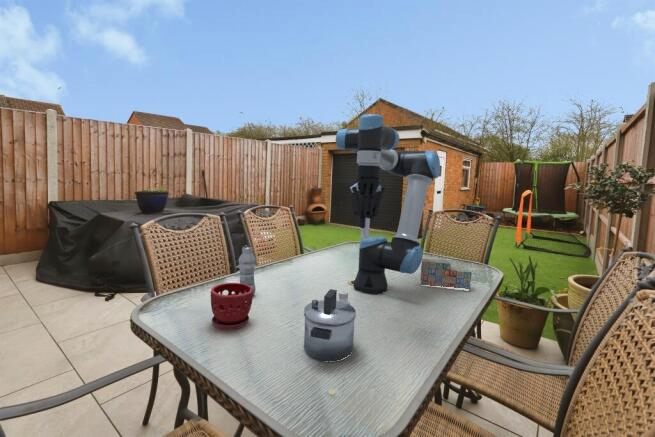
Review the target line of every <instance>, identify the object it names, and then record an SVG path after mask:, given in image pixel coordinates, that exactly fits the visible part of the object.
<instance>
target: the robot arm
mask: <svg viewBox="0 0 655 437" xmlns="http://www.w3.org/2000/svg"><path fill="white" fill-rule="evenodd" d="M384 124H385V122H384V117H383V116H382V115H381V114H374V113H373V114H372V113H369V114H368V113H366V114H362V115H361V116H360V117H359V122H358V127H353V128H352V127H351V128H343V129H339V130H338V131H337V133H336V135H335V145H336V147H337V149H339V150H342V151H352V152H353V153H356V154H357V155H356V163H357V164H358V165H357V166H356V174H355V175H356V180H355V184H353V185H352V186H349V187H348V190H349V192H350V194H351V199H352V200H351V201H352V206H353V212H354V216H356V217H358V218H359V222H358V223H359V225H358V226H359V228H360V236H359V237H360V238H361V239H360V242H359V248H358V250H359V252H358V267H357V268H358V269H357V270H358V271H357V274H356V276H355V279H354V281H353V289H354V290H356V291H357V292H360V293H363V294H367V293H368V294H369V295H379V294H378V293H381V294H384V293H383V292H385V293H387V292H386V291H388V288H389V283H388V281H387V276H386V273H385V271H386V270H388V271H389V270H390V271H394V272H399V273H402V274H409V275H412V274H415V272H417V271H418V269H419V268H420V267H421V264H422V258H424V257H423V256H424V255H423V253H424V250H423V247H422V246H421V243H420V241H419V240H418V236H419V232H420V231H419V230H420V227H421V223H422V222H421V221H422V218H423V214H424V208H425V203H426V198H427V193H428V189H429V186H430V185H432V184H433V183H434V179H438V178H439V176H440V174H441V161H440V156H439V154H438V152H437V151H435V150H394V149H395V148H397V146H398V145H399V142H400V134H399V132H398V131H397V130H396V129H394V128H393V127H390V126H386V125H384ZM381 170H383V171H385V172H387V173H389V174H392V175H394V176H398V177H401V178H402V177H403V178H404V177H405V180H406V181H407V186H406V192H405V195H404V200H403V205H402V209H401V213H400V216H399V217H400V218H399V223H398V226H397V232H396V234H395V235H394V236H391V240H390V241H388V238H387V237H385V236H370V228H372V222H373V221H372V219H374V218H375V217H377V216H378V213H379V209H380V205H381V200H382V197H383V194H384V193H385V191H386V188H385V187H382V186H381V184H380V180H379V178H380V177H381Z"/></svg>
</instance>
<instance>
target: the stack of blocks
mask: <svg viewBox="0 0 655 437" xmlns="http://www.w3.org/2000/svg"><path fill="white" fill-rule="evenodd" d="M451 263H452V262H450V260H449V259H435V258H426V257H425V258H424V257H422V261H421V264H420V280H419V281H421V284H420V286H421V285H430V286H441V287H442V286H443V287H454V288H465V289H470V290H471V281H472V271H471V269H470V268H468V267H467V268H466V267H458V266H451Z"/></svg>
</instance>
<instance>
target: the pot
mask: <svg viewBox="0 0 655 437" xmlns="http://www.w3.org/2000/svg"><path fill="white" fill-rule="evenodd" d="M354 330H355V319H354V320H353V321H352V322H350V323H348V324H345V325H340V326H324V325H319V324H315V323H313V322H310V321H309V320H307V319H306V318H305V317H304V335H303V336H304V337H303V351H304V353H305V355H307V356H308V357H309V358H311V359H313V360H316V361H319V362H322V361H328V362H327V363H330V362H329V361H337V360H341V359H343V358H345V357H347V356H348V355H350V354H351V352H352V350H353V351H354V336H355V334H354V333H355V331H354ZM352 353H353V352H352ZM351 355H352V354H351Z"/></svg>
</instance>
